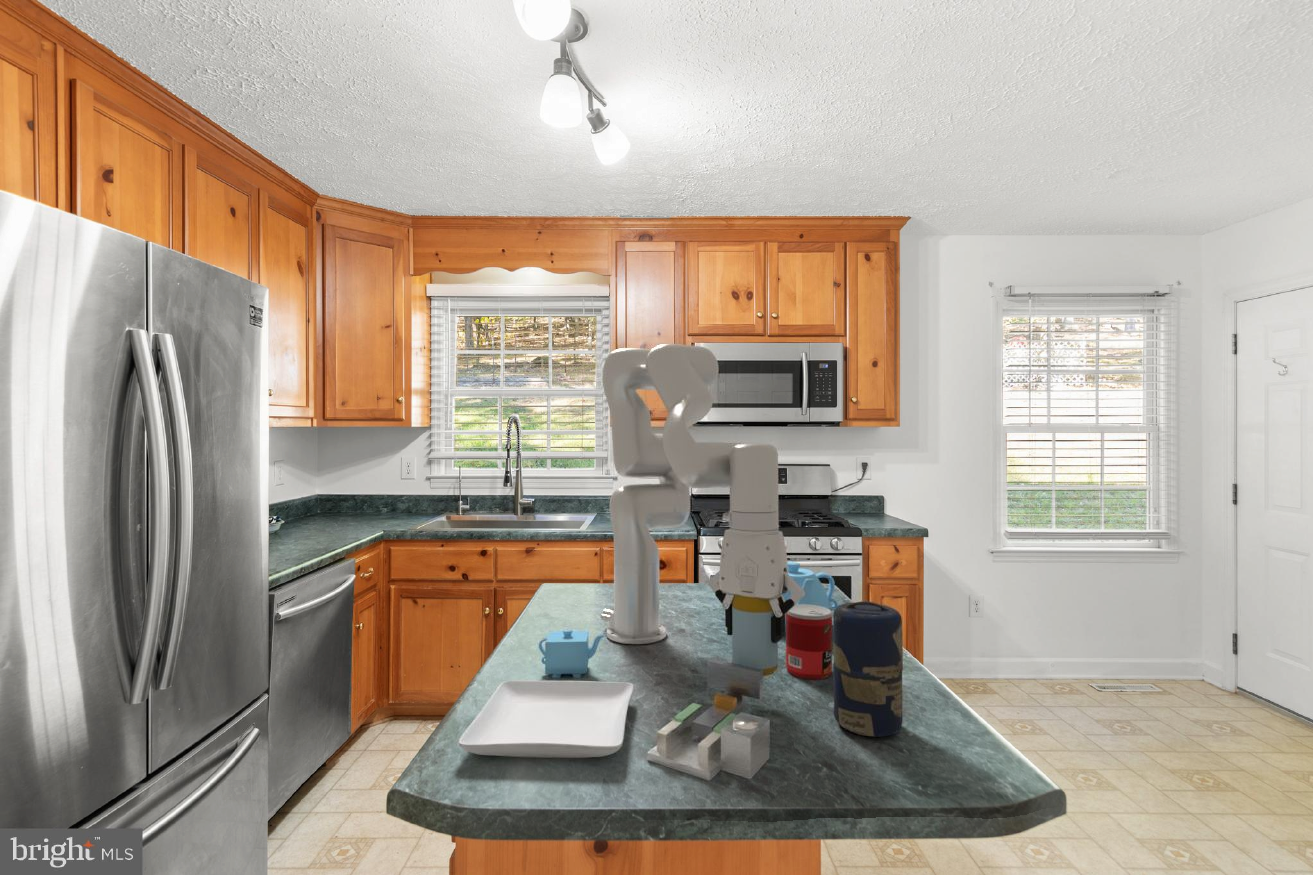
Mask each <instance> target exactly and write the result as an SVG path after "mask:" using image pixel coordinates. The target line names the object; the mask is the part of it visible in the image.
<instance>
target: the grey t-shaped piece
mask: <svg viewBox="0 0 1313 875" xmlns="http://www.w3.org/2000/svg"><path fill="white" fill-rule="evenodd" d="M706 674H707V675H706V676H707V682H706V684H707V688H712V689H714V690H718V691H722V692H723V693H719V692H718V693H716V694H715V695H713V704H712V705H711V706H710V707H708V709H706V710H705V711H704V712H702V713H701V714H700V715H699V716H697V717H696V719H695V720H694V721H692V735H694V736H698V737H701V738H704V739H705V738H706V737H707V736H708V735H709V734H710V733H712V732H713V728H715V727H716V726H717V725H718V724H719V723H720V722H721V721H723V720H724V719H725V718H726V717H727V716H728V715H730V714H731V713H733V714H737V715H738V714H739V713H740V712H743V713H746V712H747V710H746V708H747V707H746V706H747V704H746V701H747V699H746V698H753V699H754V700H755V699H756V700H760V701H761V699H762V698H763V697H764V676H763V670H762V669H758V668H753V667H748V666H744V665H739V664H735V663H733V662H729V661H724V660H720V659H716V658H710V659H708V660H707V673H706Z"/></svg>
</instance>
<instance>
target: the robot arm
mask: <svg viewBox="0 0 1313 875" xmlns="http://www.w3.org/2000/svg"><path fill="white" fill-rule="evenodd" d="M719 369H720V368H719V362H718V360H717V358H716V355H715V354H714V353H713V352H712V351H711V350H710V349H708V348H706V347H703V346H697V345H689V344H688V345H687V344H679V343H663V344H659V345H657V346H655V347H654V348H652V349H650V348H649V349H648V348H638V347H637V348H636V347H626V348H625V347H624V348H618V349H615V350H613V351H611V352H610V353H609V354H608V355H607V357H606V358H605V361H604V364H603V369H602V378H601V379H602V388H603V392H604V395H605V399H606V402H607V405H608V406H607V407H608V410H609V413H610V421H611V422H610V423H611V426H610V427H611V437H612V438H611V439H612V453H613V464H614V468H615V471H616V473H617V474H618V475H619V476H621V477H623V478H629V479H638V478H639V479H645V478H648V479H649V478H650V479H652V478H653V479H654V478H658V480H659V483H641V484H639V483H638V484H628V485H624V486H620V487H618V488H617V489H616V490H614V491H613V493H612V494H611V496H610V499H609V504H608V505H609V515H610V521H611V526H612V535H613V609H608V608H604V609H603V611H602V614H601V615H600V618H599V619H600V621H603V622H608V623H609V626H608V627H607V628H606V633H605V634H607V635H606V637H607V638H608V639H609V640H611V641H613V642H615V643H619V644H626V645H646V644H652V643H653V644H654V643H657V642H659V641H662V640H664V639H665V638H666V637H667V628H666V627H665V626H664V625H663V624H660V549H659V547H658V545H657V543H656V541H655V539H654V538H653V536H652V535H651V533H650V530H655V529H666V528H667V529H668V528H676V527H680V526H682V525H684V524H685V523H687V520H688V518H689V516H690V511H691V495H690V494H691V492H690V488H691V489H713V488H723V489H724V488H729V510H728V512H723V514H722V521H723V522H727V523H728V527H729V529H725V530H724V534H723V537H722V538H723V540H722V544H721V551H720V559H719V570H718V571H717V572H716V573H715V574H714V575H713V576H711V577H710V579H708V581H707V585H708V586H709V588H710V589H711V590H712V592H713V593H714V595H715V597H716V598H717V600H718V601H719V602H720V603H721V606H722V607H721V608H723V609H724V613H725V617H724V619H725V622H724V623H725V624H724V625H725V628H726V634H727V636H732V605H733V599H734V596H739V595H740V591H741V592H743V590H740V579H739V578H740V575H742V576H749V577H755V579H757V580H755V592H753V593H756V598H759V599H764V600H769V602H770V605H771V607H772V609H773V612H774V616H772V617H771V641H772V643H777V642H778V643H779V642H780V641H781V640H783V638H784V637H785V636H786V633H785V614H786V613H787V612H788V611H789V610H790V609H791V608H792V607H793V606H794V605H795V604H796V603H797V602H798V601H799V600H800V599H801V598H802V597H803V596H804V595H805V591H804V590H803V589H802V588H801V587H800V586H799V585H798V584H797V583H796V582H795V581H794V580H793V579H792V577H791V576H790V575H789V574H788V563H787V562H788V554H787V548H786V543H785V537H784V533H783V531H781V530H779V454H778V449H777V448H776V447H775V446H774V445H773V444H770V443H743V442H721V441H719V442H717V441H716V442H714V441H713V442H711V441H710V442H709V441H708V442H703V441H702V442H697V441H696V440H695V439H694V438H693V436H692V434H691V433H690V431H689V429H688V428H689V427H690V426H693V425H694V424H696V423H698V422H700V421H701V420H702V419H704V418H705V417H706V416H707V415H708V414H709V412H710V410H711V409H712V407H713V403H714V400H713V399H714V398H713V395H712V393H711V391H710V390H709V389H710V388H711V387H713V386H714V384H715V383H716V381H717V379H718V377H719V371H720V370H719ZM637 390H644V391H656V392H657V395H659V398H660V400H661V401H662V403H663V405H664V407H665V409H666V411H667V413H668V415H667V416H666V419H665V422H664V425H663V428H662V429H663V431H662V433H654V432H653V430H652V429H653V428H652V420H651V419H652V418H651V412H650V409H649V407H648V405H647V403H646V402H645V401H644V399H643V398H642V396H640V394H639V393H638V392H637ZM738 577H739V578H738ZM788 589H789V590H790V591H791V596H790V597H789V598H788V600H786V601H785V600H784V598H783V596H782V594H785V593H787V591H788Z"/></svg>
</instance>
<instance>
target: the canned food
mask: <svg viewBox="0 0 1313 875" xmlns="http://www.w3.org/2000/svg"><path fill="white" fill-rule="evenodd" d="M832 612H833V611H831V610H829V609H827V608H825V607H822V606H817V605H808V604H798V605H794V606H793V607H792V608H791V609H790V610H789V611H788V612H787V613H786V633H785V666H786V671H787V672H788V673H790V674H791V675H793V676H794V677H797V678H802V679H807V680H820V679H821V680H822V679H826V678H827V677H829V676H831V673H832V670H833V665H832V664H833V613H832Z"/></svg>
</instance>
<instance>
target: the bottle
mask: <svg viewBox="0 0 1313 875" xmlns="http://www.w3.org/2000/svg"><path fill="white" fill-rule="evenodd" d="M738 578H739V577H738ZM739 579H740V590H743V592H741V591H740V595H739V596H734V599H733V605H732V635H731V637H732V643H731V644H732V658H731V660H732V661H731V662H732V663H735V664H739V665H744V666H748V667H753V668H758V669H762V670H763V677H767V676H771V675H772V674H774V673H775V672H776V670H777V669H778V667H779V666H778V665H779V664H778V663H779V641H778V642H777V643H772V641H771V617H772V616H774V612H773V609H772V607H771V605H770V602H769V600H764V599H759V598H756V593H753V592H755V580H757V579H755V577H749V576H742V575H740V578H739Z"/></svg>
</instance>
